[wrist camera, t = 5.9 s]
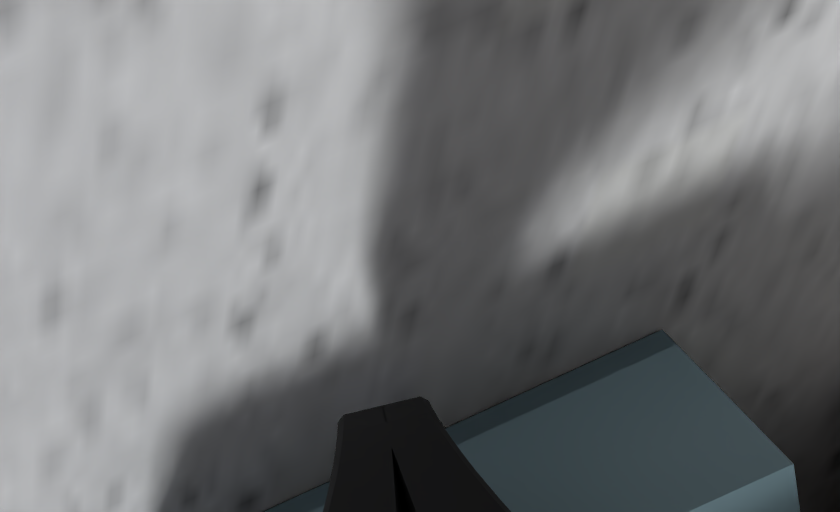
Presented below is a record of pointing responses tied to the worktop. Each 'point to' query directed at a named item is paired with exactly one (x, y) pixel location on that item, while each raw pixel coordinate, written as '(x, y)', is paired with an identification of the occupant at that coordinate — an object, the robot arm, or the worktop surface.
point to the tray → (621, 443)
